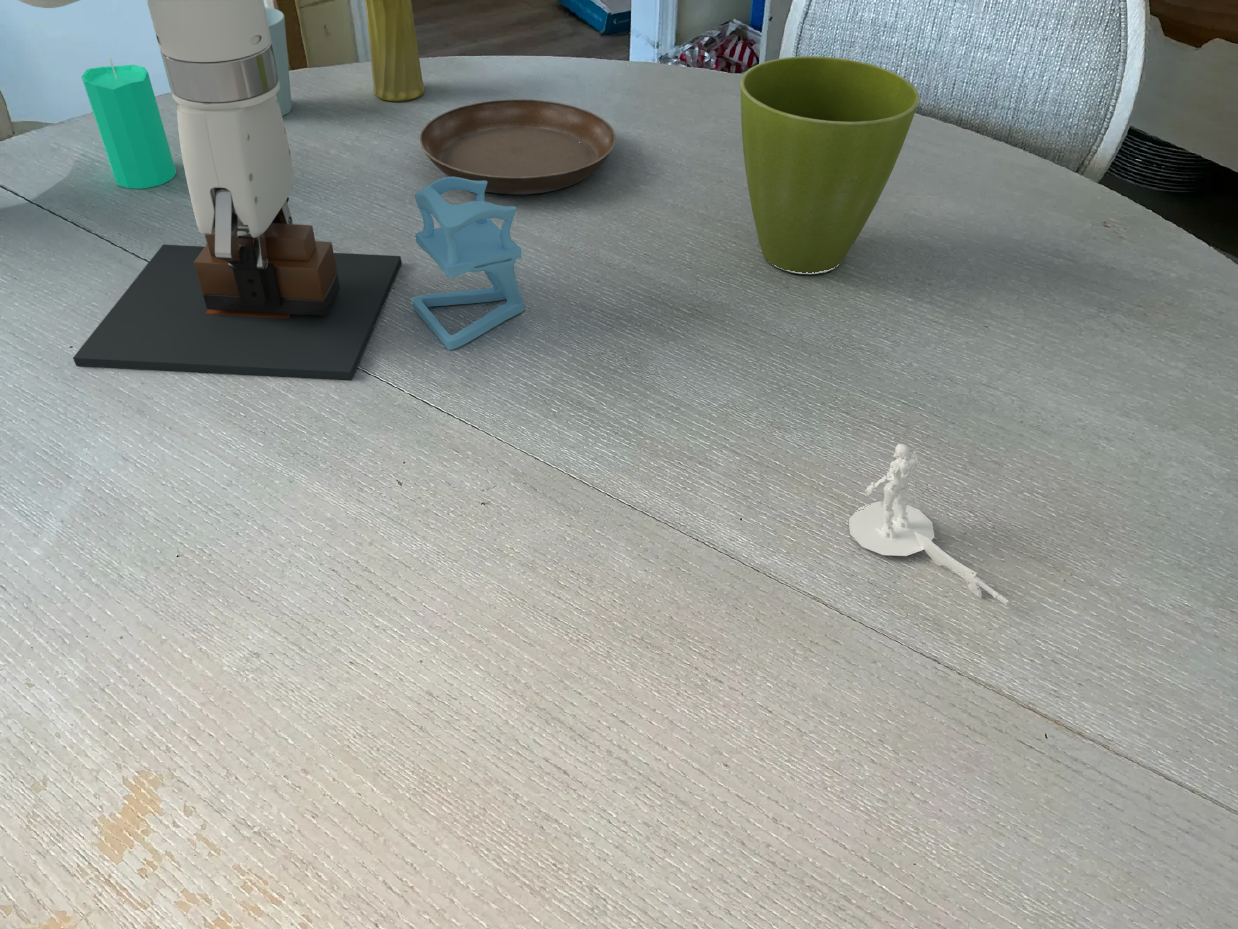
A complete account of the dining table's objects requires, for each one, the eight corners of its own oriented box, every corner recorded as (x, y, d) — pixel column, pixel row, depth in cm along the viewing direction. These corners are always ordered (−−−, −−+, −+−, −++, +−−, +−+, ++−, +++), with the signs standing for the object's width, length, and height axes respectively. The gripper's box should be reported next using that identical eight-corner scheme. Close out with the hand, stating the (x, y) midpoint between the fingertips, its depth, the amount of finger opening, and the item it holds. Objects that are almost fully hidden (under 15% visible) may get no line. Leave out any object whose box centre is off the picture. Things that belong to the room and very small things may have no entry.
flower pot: (744, 206, 103) (763, 45, 92) (892, 233, 99) (929, 69, 88) (704, 278, 92) (720, 105, 81) (868, 311, 88) (907, 134, 78)
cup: (219, 109, 118) (197, 15, 111) (278, 92, 122) (260, 1, 115) (254, 129, 114) (234, 33, 107) (313, 110, 118) (297, 18, 111)
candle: (102, 184, 103) (62, 65, 95) (136, 159, 107) (101, 44, 99) (155, 192, 102) (118, 72, 94) (187, 166, 106) (155, 50, 98)
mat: (75, 365, 80) (72, 357, 79) (165, 251, 93) (162, 243, 93) (352, 380, 79) (350, 371, 79) (401, 263, 93) (400, 255, 92)
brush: (206, 309, 84) (187, 239, 79) (225, 281, 87) (207, 212, 83) (326, 316, 84) (313, 246, 79) (340, 288, 87) (328, 219, 83)
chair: (538, 323, 86) (534, 192, 78) (448, 351, 82) (434, 217, 74) (497, 282, 91) (489, 154, 83) (411, 306, 87) (394, 176, 79)
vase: (363, 91, 123) (345, -35, 113) (405, 79, 126) (390, -45, 117) (393, 106, 120) (376, -23, 110) (435, 93, 123) (422, -33, 114)
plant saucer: (487, 110, 119) (486, 82, 117) (646, 147, 113) (647, 118, 111) (383, 179, 105) (379, 149, 103) (557, 225, 99) (557, 194, 96)
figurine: (885, 502, 71) (896, 408, 67) (1033, 592, 64) (1058, 493, 59) (829, 537, 69) (836, 442, 64) (976, 636, 61) (997, 536, 56)
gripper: (212, 28, 79) (260, 238, 91) (121, 114, 66) (191, 345, 78) (307, 33, 79) (343, 242, 91) (234, 120, 66) (286, 350, 78)
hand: (272, 287), depth 85 cm, fingers closed on brush, 4 cm apart
